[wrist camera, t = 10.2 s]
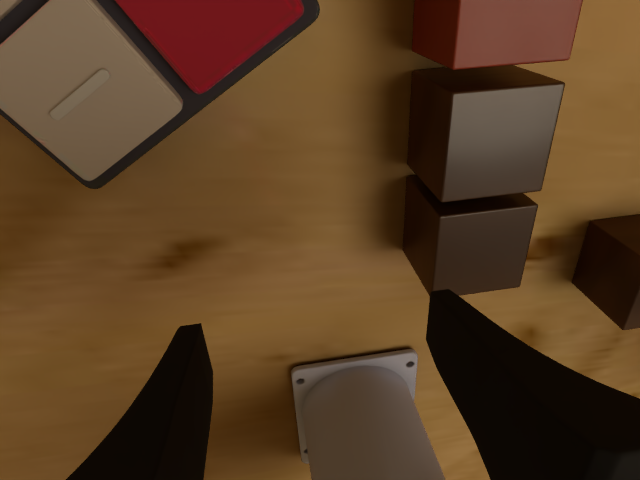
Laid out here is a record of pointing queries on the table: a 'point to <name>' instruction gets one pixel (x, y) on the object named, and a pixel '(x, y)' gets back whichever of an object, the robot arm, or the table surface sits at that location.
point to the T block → (481, 130)
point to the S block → (494, 31)
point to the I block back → (612, 269)
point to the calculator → (128, 70)
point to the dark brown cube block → (466, 239)
